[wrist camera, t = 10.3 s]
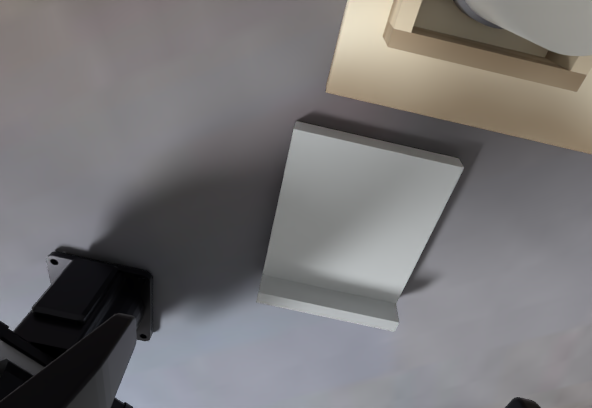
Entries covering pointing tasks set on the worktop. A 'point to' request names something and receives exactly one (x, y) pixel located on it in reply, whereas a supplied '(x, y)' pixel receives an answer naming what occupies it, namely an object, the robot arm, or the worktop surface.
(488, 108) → the socket board
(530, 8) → the white capsule peg
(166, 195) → the worktop surface
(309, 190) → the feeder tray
